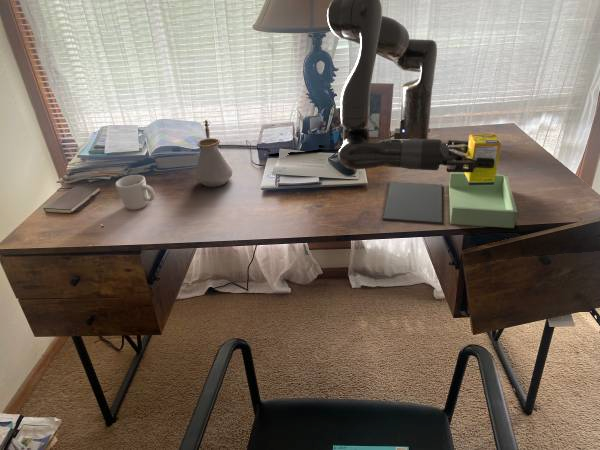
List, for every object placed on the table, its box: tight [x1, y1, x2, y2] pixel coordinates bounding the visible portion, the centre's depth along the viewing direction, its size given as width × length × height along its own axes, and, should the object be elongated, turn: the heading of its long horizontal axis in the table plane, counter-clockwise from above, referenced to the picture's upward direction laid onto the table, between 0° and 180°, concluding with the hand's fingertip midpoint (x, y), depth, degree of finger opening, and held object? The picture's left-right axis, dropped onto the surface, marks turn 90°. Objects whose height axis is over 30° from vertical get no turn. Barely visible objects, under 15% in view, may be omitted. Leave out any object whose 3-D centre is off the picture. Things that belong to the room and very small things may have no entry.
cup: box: [114, 174, 156, 211], centre depth 123 cm, size 11×8×8 cm
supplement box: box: [463, 133, 502, 185], centre depth 105 cm, size 6×6×11 cm
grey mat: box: [382, 182, 443, 224], centre depth 115 cm, size 14×20×1 cm
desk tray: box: [448, 172, 518, 229], centre depth 110 cm, size 14×20×4 cm
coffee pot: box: [194, 119, 234, 188], centre depth 136 cm, size 21×12×15 cm, turn 11°
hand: (492, 157), depth 104 cm, fingers closed on supplement box, 6 cm apart
